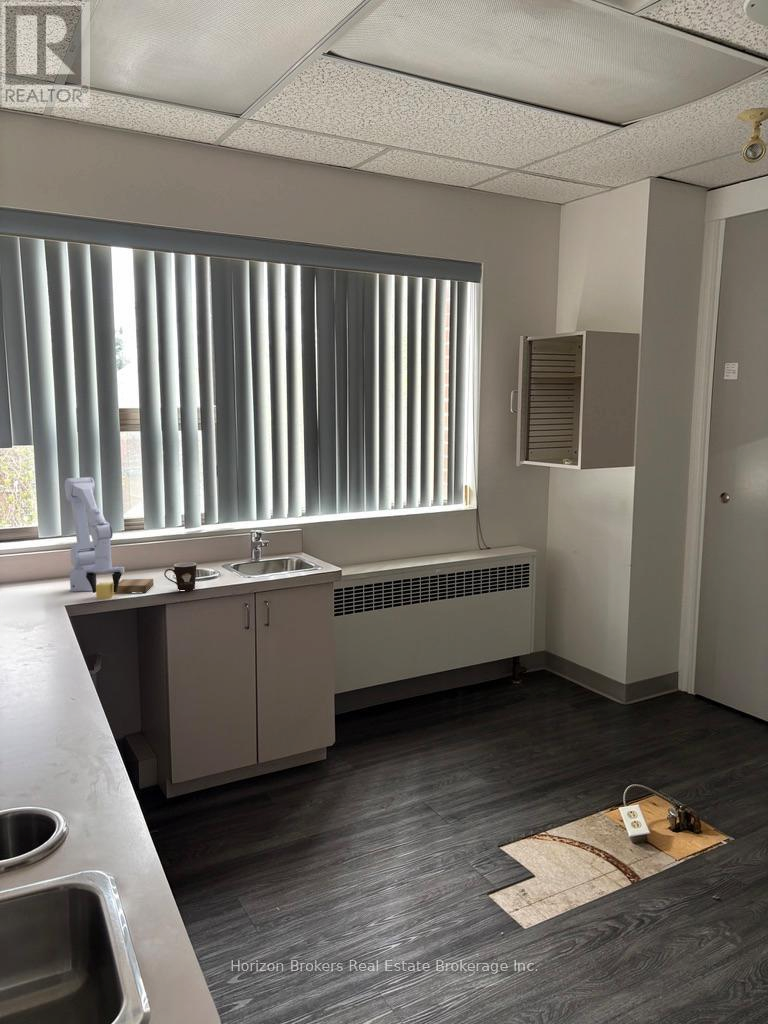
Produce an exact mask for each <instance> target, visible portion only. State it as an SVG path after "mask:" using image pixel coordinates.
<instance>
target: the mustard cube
mask: <svg viewBox="0 0 768 1024" xmlns="http://www.w3.org/2000/svg"><path fill="white" fill-rule="evenodd" d="M95 594H96V599H97V598H104V599H112V596H113V595H114V596H115V592H114V584H113V582H99V583H97V585H96V592H95ZM114 596H113V597H114Z"/></svg>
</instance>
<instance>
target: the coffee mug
mask: <svg viewBox="0 0 768 1024" xmlns="http://www.w3.org/2000/svg"><path fill="white" fill-rule="evenodd" d="M197 565H198V564H197V563H196V562H179V563H175V564H173V568H174V569H173V568H167V569H165V571H164V573H163V575H164V577H165V578H166V580H168V581H170V582H172V583H174V584H175V585H176V587H177V590H178V589H179V590H185V591H187V592H192V591H191V590H193V589H196V577H197ZM168 571H171V572H172V573H173V574H174V575H175V579H176V581H174V580H173V579H171V578H169V577H168V576H167V575H166V574H167V572H168ZM193 591H194V590H193Z"/></svg>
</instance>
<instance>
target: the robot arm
mask: <svg viewBox="0 0 768 1024" xmlns="http://www.w3.org/2000/svg"><path fill="white" fill-rule="evenodd" d="M95 489H96V483H95V480H94V479H93V477H92V476H88V477H86V476H85V477H75V478H74V477H72V478H70V477H68V478H66V480H65V481H64V492H65V493H64V494H65V498H66V501H67V500H68V501H69V502H70V504H71V509H72V510H71V511H72V515H73V517H72V518H73V523H74V531H75V536H76V538H75V539H76V543H75V544H74V545H73V546H72V547H71V548H70V562H71V565H72V566H73V567H71V569H70V570H69V585H70V587H69V588H70V589H69V592H92V593H93V594H96V585H98V581H97V579H98V578H97V574H112V575H111V577H112V583H113V585H114V593H115V592H117V588H118V583H119V582H120V581H121V580H120V579H121V577H122V575H123V574H124V573H125V566H113V565H112V564H113V562H112V549H111V548H112V546H111V539H112V538H113V536H114V535H113V533H114V531H113V527H112V525H111V524H110V523H109V522H108V521H107V520H106V519H105V516H104V514H103V512H102V509H101V508H98V506H97V502H96V499H95V496H94V495H95V494H94V493H95ZM89 526H90V530H89ZM90 535H91V537H90ZM91 539H92V541H91Z"/></svg>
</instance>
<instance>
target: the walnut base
mask: <svg viewBox="0 0 768 1024" xmlns="http://www.w3.org/2000/svg"><path fill="white" fill-rule="evenodd" d="M153 585H154V578H137V579H136V578H128V579H127V578H125V579H124V578H123V579H121V580H119V583H118V588H117V592H114V595H115V594H116V593H121V594H133V593H132V592H147V591H148V590H149V589H150V588H151V587H152V586H153ZM153 587H154V586H153ZM153 587H152V588H153ZM152 588H151V589H152ZM151 589H150V590H151ZM150 590H149V591H150ZM149 591H148V592H149ZM148 592H147V593H148Z"/></svg>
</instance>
